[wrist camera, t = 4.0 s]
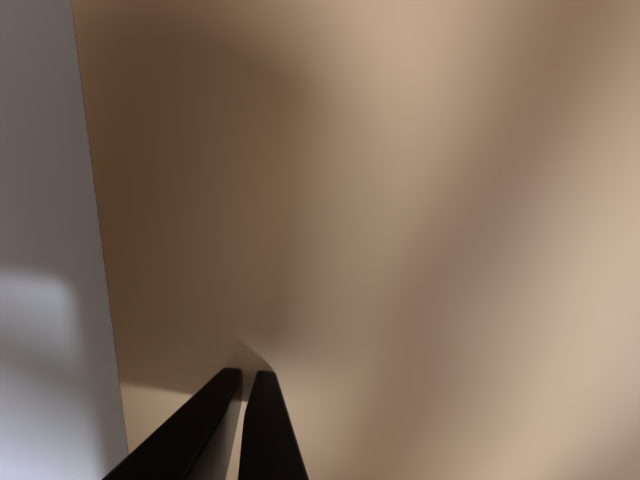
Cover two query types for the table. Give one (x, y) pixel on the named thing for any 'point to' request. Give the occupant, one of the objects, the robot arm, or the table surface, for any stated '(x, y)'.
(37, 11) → the table surface
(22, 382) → the table surface
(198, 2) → the oak plank
